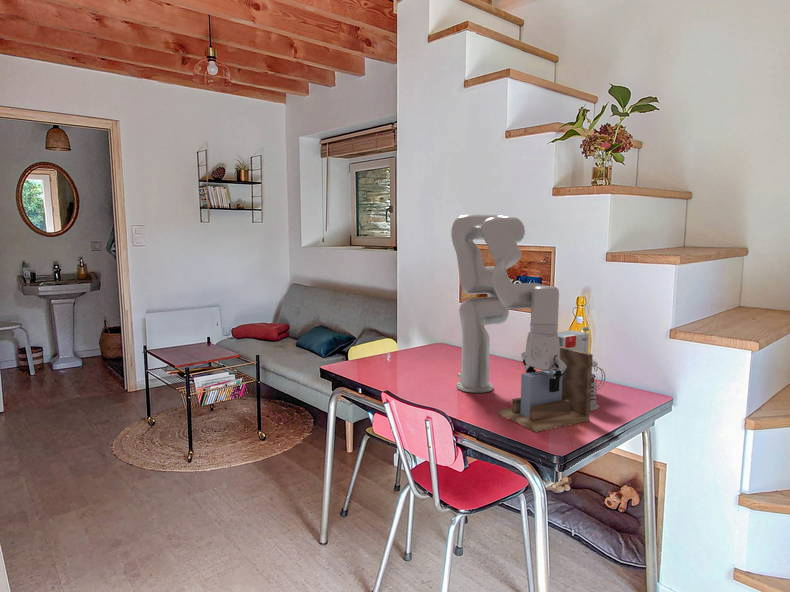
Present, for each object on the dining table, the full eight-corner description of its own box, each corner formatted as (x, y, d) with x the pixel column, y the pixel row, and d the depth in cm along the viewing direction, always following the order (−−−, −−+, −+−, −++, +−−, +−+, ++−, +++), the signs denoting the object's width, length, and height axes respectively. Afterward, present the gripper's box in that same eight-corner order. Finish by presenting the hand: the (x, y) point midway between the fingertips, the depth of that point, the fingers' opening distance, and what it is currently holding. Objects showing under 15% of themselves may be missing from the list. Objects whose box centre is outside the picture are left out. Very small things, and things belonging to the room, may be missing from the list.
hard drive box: (559, 397, 176) (561, 337, 174) (540, 391, 183) (542, 334, 180) (587, 389, 186) (589, 332, 183) (568, 384, 192) (570, 329, 189)
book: (520, 414, 155) (521, 373, 153) (551, 408, 160) (552, 369, 159) (529, 418, 151) (531, 377, 150) (561, 412, 157) (562, 372, 155)
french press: (561, 400, 172) (563, 324, 170) (595, 399, 174) (598, 323, 171) (574, 410, 163) (577, 329, 160) (610, 409, 164) (614, 329, 161)
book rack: (499, 414, 159) (500, 350, 157) (549, 405, 168) (552, 344, 166) (536, 432, 145) (538, 362, 142) (589, 420, 154) (592, 354, 152)
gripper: (513, 325, 159) (512, 381, 161) (556, 335, 143) (553, 397, 145) (533, 323, 162) (531, 378, 164) (576, 332, 147) (574, 393, 149)
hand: (542, 387), depth 155 cm, fingers open, 9 cm apart
